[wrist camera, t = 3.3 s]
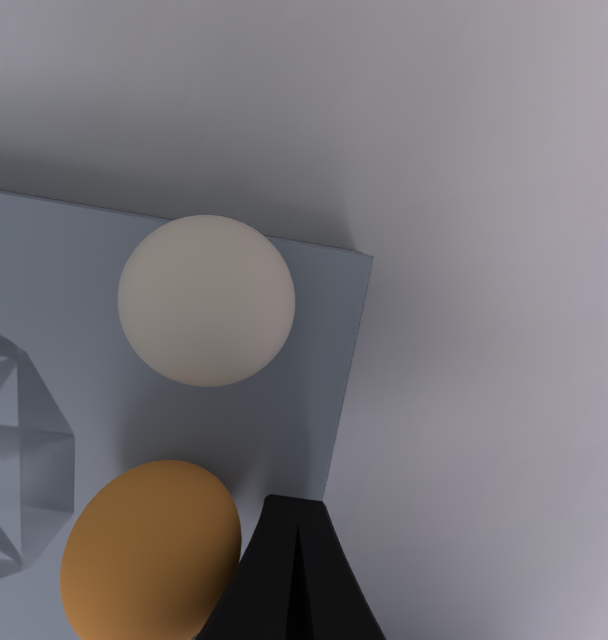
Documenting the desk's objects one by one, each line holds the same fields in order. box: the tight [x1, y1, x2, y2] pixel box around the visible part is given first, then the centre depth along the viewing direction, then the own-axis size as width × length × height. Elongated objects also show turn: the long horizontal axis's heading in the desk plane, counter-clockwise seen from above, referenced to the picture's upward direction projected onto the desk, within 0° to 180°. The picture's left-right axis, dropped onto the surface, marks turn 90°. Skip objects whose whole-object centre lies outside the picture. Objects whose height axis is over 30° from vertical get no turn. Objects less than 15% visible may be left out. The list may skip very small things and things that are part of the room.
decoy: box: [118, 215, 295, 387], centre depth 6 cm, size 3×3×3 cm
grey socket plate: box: [0, 190, 373, 640], centre depth 10 cm, size 15×13×2 cm
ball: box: [60, 460, 242, 640], centre depth 7 cm, size 3×3×3 cm
